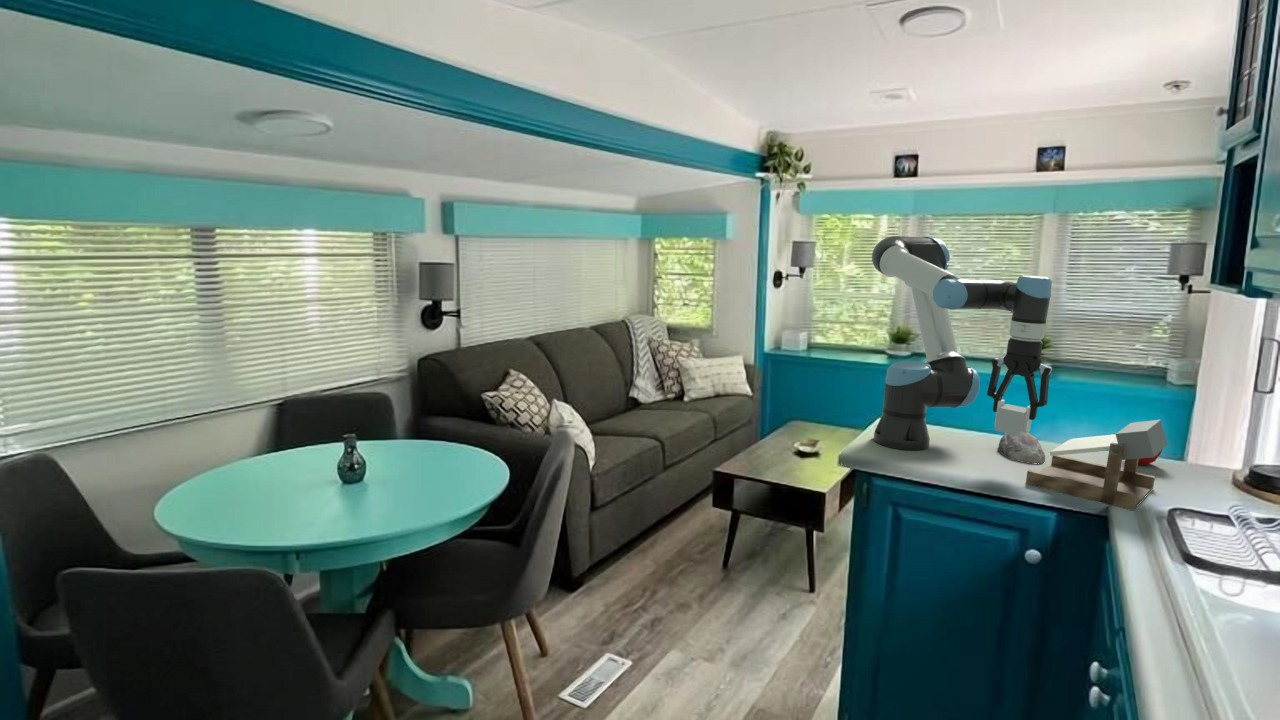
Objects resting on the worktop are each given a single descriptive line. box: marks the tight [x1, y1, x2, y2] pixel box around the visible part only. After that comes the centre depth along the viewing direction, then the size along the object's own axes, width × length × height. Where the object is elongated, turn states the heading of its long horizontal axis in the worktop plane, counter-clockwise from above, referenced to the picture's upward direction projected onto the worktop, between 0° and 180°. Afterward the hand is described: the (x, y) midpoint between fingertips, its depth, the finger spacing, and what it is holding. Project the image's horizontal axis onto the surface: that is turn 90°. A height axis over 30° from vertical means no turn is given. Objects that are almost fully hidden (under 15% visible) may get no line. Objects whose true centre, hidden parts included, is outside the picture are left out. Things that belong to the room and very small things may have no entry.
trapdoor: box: [1049, 419, 1168, 461], centre depth 165 cm, size 20×18×6 cm
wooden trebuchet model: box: [1025, 443, 1156, 512], centre depth 168 cm, size 22×22×14 cm
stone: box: [997, 431, 1046, 465], centre depth 193 cm, size 17×10×10 cm
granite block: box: [994, 403, 1027, 436], centre depth 176 cm, size 6×6×6 cm
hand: (1011, 427), depth 176 cm, fingers closed on granite block, 6 cm apart
